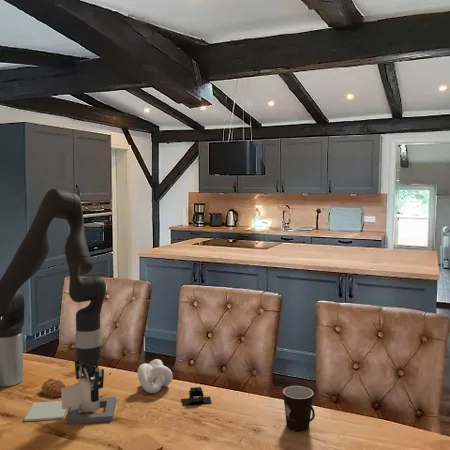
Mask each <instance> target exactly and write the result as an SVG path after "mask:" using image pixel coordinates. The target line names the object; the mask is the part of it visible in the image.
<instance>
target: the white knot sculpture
mask: <svg viewBox="0 0 450 450" xmlns="http://www.w3.org/2000/svg"><path fill="white" fill-rule="evenodd" d="M137 378H138V382H139V384H140V386H141V388H142V389H143V390H144V391H146V393H149V394H156V393H158V392H159V391H160V390H161V389H162V387H167V386H168V385H170V384H171V383H172V380H173V371H171V369H170V368H169V367H167V366H165V365H164V363H163V361H162V360H161V359H158V358H155V359H152V360H151V361H150V362H149V363H145V362H144V363H142V364H140V365H139V366H138V369H137Z"/></svg>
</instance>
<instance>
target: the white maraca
mask: <svg viewBox="0 0 450 450" xmlns="http://www.w3.org/2000/svg"><path fill="white" fill-rule="evenodd" d="M91 379H94V377H92V378H91ZM99 384H100V382H99ZM93 385H94V381H93ZM100 390H101V389H99V400H98V401H96V402H92V401H91V387H90V383H88V381H87V377H86V376H85V377H82V378H79V379H78V382H77V383H73V384H70V385H68V386H66V385H65V387H63V388H61V396H60V397H61V401H62V409H67V410H68V409H70V408H71V407H73V406H75V405H78V404H79V410H80V411H79V412H82V413H92V412H93V413H94V412H95V411H97V410H100V407H101V406H100V398H101V393H100Z"/></svg>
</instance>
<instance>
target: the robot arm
mask: <svg viewBox="0 0 450 450" xmlns="http://www.w3.org/2000/svg"><path fill="white" fill-rule="evenodd" d="M34 216H35V217H34V219H33V221H32V223H31V225H30V227H29V229H28V231H27V233H26V234H25V236H24V237H23V240H22V241H21V243H20V245H19V246H18V248H17V250H16V252H15V253H14V255H13V257H12V259H11V261H10V263H9V265H8V266H7V268H6V270H5V271H4V273H3V275H2V276H1V278H0V318H1V319H0V387H13V386H15V385H18V384H20V383H22V382H23V381H24V379H25V378H24V377H25V376H24V375H25V374H24V350H23V349H24V348H23V347H24V346H23V345H24V344H23V328H24V327H23V326H24V324H25V308H26V307H25V296H24V294H23V292H22V290H21V289H20V288H21V287H22V286H23V285H24V284H26V282H28V280H30V279H31V278H32V277H33V276H34V275H36V273H38V271H39V269H41V267H42V266H43V264H44V262H45V260H46V259H47V257H48V255H49V252H50V243H49V238H48V230H49V227H50V225H51V224H52V223H51V222H52V221H53V219H55V218H56V219H60V220H66V222H67V223H68V226H69V233H68V236H67V239H66V241H65V245H64V253H65V258H66V263H67V267H68V271H69V284H68V296H69V297H70V299H71V300H72V301H73V302H75V303H84V302H89V303H88V305H87V306H85V307H82V308H80V309H78V310H77V311H76V313H75V335H74V336H75V338H74V339H75V340H74V343H75V346H74V347H75V359H74V369H75V370H74V372H75V379H76V380H79V378H82V377H85V376H86V377H87V381H88V383H90V387H91V401H92V402H96V401H98V400H99V389H100V390H101V389H103V388H104V383H105V382H104V380H105V378H104V377H105V370H104V368H100V366H99V363H98V362H99V360H100V359H102V352H103V351H102V348H103V347H102V331H101V312H102V308H103V304H104V300H105V296H106V292H107V285H106V282H105V280H104V278H102V277H101V276H98V275H97V276H95V275H94V276H87V277H86V276H85V277H81V276H83V275H87V274H89V273H90V272H91V271H92V270H93V267H94V265H93V260H92V257H91V253H90V249H89V247H88V243H87V238H86V230H85V221H84V212H83V204H82V200H81V198H80V196H79V195H78V194H76V193H74V192H71V191H67V190H63V189H60V188H59V189H58V188H51V189H50V190H48V191H47V192H46V193H45V194H44V196H43V198H42V200H41V202H40V204H39V207H38V209H37V212H36V215H34ZM92 377H94V379H91V378H92ZM93 381H94V385H93ZM99 382H100V384H99Z"/></svg>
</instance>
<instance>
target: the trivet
mask: <svg viewBox="0 0 450 450" xmlns="http://www.w3.org/2000/svg"><path fill="white" fill-rule="evenodd" d="M67 411H68V408H67V409H62V400H60V401H59V400H58V401H57V400H55V401H43V402H39V401H38V402H33V403H32V405H31V407H30V408H29V410H28V412H27V413H26V415H25V416H24V419H23V422H34V421H35V422H37V421H50V420H63V419H65V416H66V413H67Z"/></svg>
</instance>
